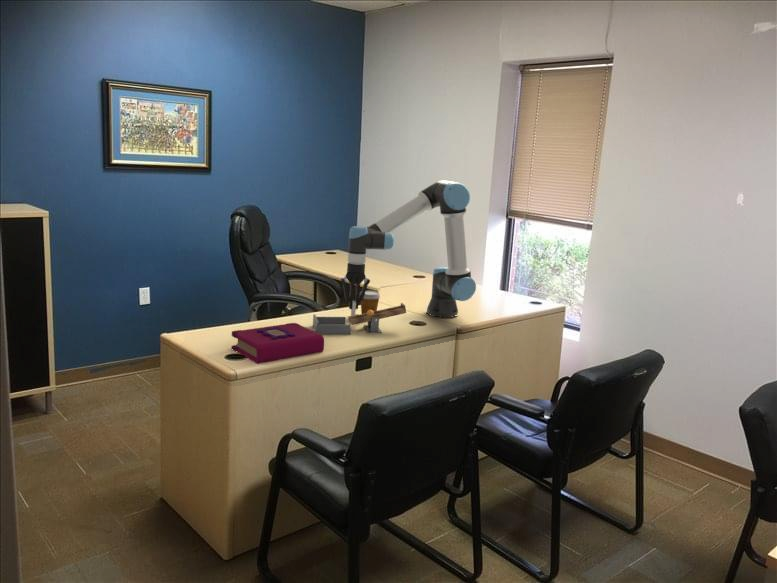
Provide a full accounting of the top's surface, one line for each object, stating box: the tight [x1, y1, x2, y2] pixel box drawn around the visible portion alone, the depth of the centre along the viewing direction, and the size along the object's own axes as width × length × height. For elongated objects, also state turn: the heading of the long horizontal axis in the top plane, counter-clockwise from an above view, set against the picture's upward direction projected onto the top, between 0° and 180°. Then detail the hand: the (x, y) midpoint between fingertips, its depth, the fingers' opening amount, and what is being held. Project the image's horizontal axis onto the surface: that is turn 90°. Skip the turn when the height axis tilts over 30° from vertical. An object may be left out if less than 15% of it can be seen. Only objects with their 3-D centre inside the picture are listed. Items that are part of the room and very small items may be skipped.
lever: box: [347, 302, 407, 326], centre depth 280 cm, size 24×11×3 cm, turn 102°
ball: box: [367, 310, 374, 316], centre depth 277 cm, size 3×3×3 cm
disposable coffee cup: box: [359, 290, 381, 314], centre depth 297 cm, size 10×10×12 cm
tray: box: [312, 314, 352, 335], centre depth 274 cm, size 14×14×5 cm
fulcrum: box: [363, 317, 383, 334], centre depth 278 cm, size 6×11×7 cm, turn 13°
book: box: [231, 322, 325, 364], centre depth 242 cm, size 21×28×8 cm
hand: (352, 316), depth 281 cm, fingers closed
